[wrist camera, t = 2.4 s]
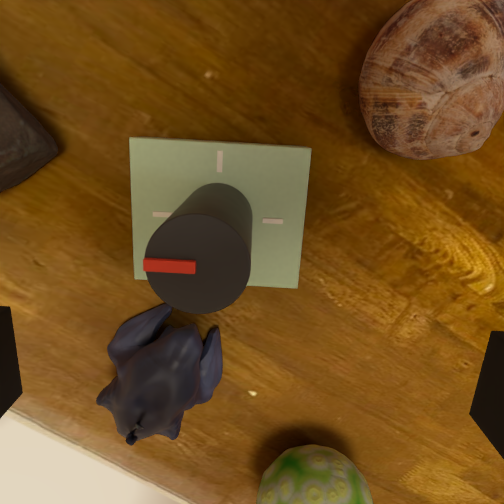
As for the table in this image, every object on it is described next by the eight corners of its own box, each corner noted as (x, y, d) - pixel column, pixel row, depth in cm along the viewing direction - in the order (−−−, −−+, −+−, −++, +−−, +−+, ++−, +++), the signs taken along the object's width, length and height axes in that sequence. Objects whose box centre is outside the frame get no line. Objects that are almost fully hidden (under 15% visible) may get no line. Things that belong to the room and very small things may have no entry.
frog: (90, 379, 35) (45, 447, 27) (150, 270, 31) (117, 314, 24) (188, 426, 36) (170, 502, 29) (254, 327, 33) (253, 384, 25)
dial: (254, 184, 26) (253, 218, 16) (250, 252, 28) (247, 320, 18) (183, 180, 26) (140, 211, 16) (183, 248, 28) (143, 314, 18)
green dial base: (306, 146, 28) (312, 148, 25) (293, 274, 31) (297, 289, 28) (141, 136, 28) (127, 137, 25) (145, 265, 31) (133, 280, 28)
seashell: (507, 158, 28) (507, 171, 20) (379, 152, 32) (336, 160, 24) (544, -13, 24) (562, -84, 16) (395, 7, 29) (352, -41, 21)
